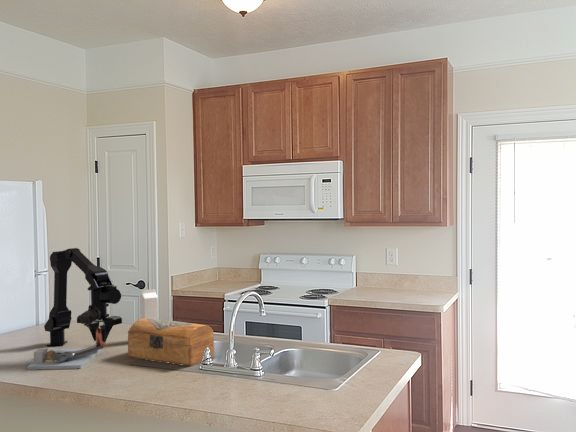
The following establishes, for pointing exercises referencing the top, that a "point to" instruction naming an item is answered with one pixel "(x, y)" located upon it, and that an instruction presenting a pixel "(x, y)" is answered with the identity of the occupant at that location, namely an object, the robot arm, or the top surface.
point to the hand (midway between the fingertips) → (99, 341)
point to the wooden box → (169, 341)
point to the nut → (50, 354)
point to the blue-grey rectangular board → (72, 363)
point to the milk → (149, 304)
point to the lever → (80, 352)
